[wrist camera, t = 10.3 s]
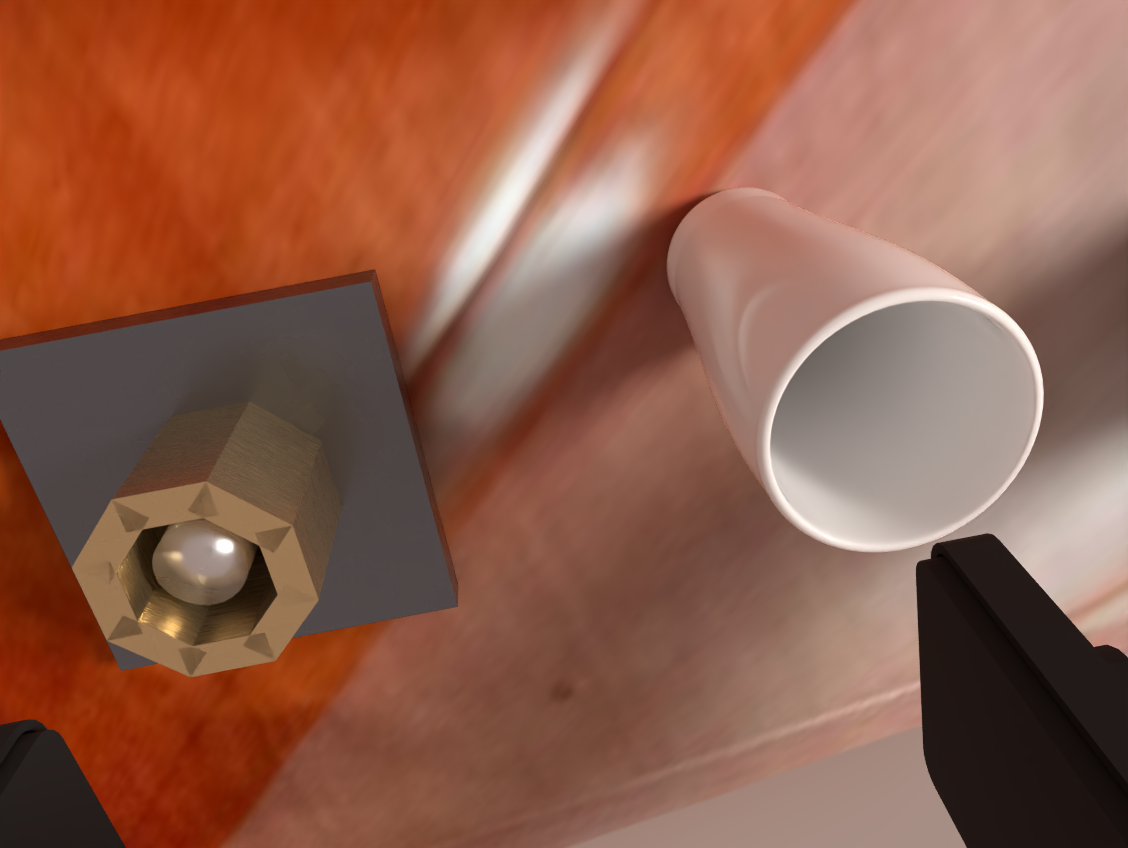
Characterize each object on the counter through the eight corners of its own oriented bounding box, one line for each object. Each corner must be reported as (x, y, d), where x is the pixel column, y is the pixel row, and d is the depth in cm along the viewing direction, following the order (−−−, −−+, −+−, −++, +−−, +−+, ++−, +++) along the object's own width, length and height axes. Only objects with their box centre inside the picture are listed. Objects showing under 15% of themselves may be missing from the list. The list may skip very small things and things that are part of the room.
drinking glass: (685, 371, 36) (811, 601, 23) (614, 215, 33) (710, 372, 20) (847, 294, 35) (1078, 485, 22) (788, 129, 33) (1012, 230, 19)
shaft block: (375, 269, 33) (353, 329, 28) (458, 585, 39) (455, 689, 34) (-10, 341, 33) (-113, 417, 27) (133, 647, 39) (73, 762, 33)
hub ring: (305, 391, 34) (272, 468, 28) (356, 551, 37) (335, 649, 31) (114, 427, 33) (44, 512, 28) (180, 584, 37) (130, 688, 31)
